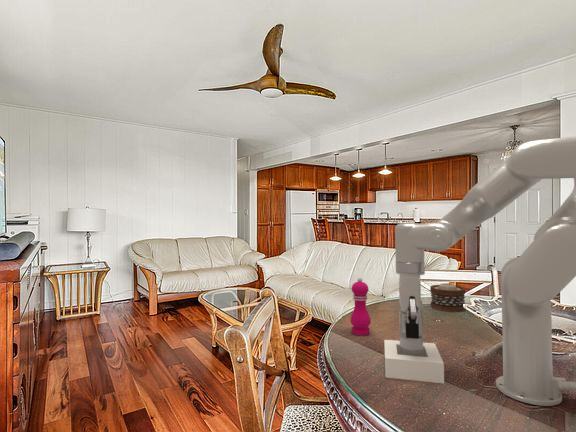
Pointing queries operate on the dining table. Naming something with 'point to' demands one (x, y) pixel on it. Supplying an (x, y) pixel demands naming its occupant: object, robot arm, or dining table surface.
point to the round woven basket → (447, 297)
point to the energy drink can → (405, 343)
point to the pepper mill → (360, 309)
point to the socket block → (413, 363)
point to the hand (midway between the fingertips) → (411, 333)
